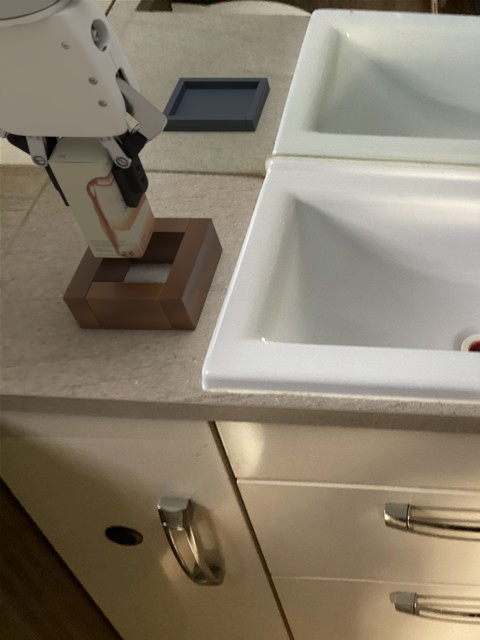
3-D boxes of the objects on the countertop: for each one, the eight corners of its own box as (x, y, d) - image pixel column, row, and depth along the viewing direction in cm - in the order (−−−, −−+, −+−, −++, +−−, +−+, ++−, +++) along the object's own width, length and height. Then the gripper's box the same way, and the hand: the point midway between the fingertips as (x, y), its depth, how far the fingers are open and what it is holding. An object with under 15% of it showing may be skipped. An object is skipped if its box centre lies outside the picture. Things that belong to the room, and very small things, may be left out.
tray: (163, 130, 90) (159, 119, 89) (183, 88, 96) (179, 77, 94) (255, 131, 90) (251, 119, 89) (270, 88, 95) (267, 77, 94)
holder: (80, 328, 71) (61, 297, 68) (117, 248, 78) (102, 217, 75) (195, 329, 71) (181, 299, 68) (222, 249, 77) (211, 217, 74)
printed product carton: (143, 259, 68) (100, 164, 60) (93, 259, 68) (43, 164, 60) (160, 219, 71) (120, 123, 64) (111, 218, 71) (66, 123, 64)
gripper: (150, -47, 54) (218, 170, 68) (-91, -49, 55) (26, 166, 69) (115, 8, 49) (196, 228, 64) (-149, 5, 50) (-10, 224, 64)
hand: (107, 194), depth 66 cm, fingers closed on printed product carton, 4 cm apart
